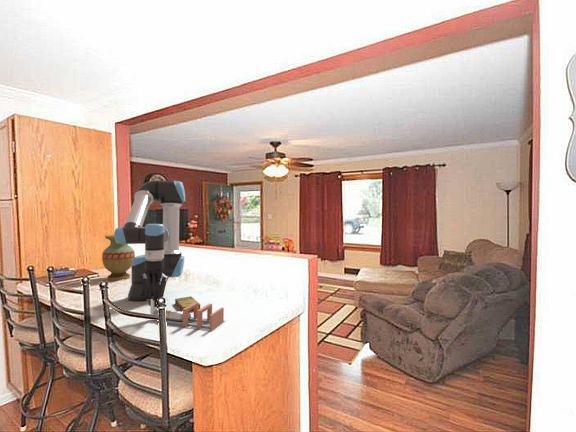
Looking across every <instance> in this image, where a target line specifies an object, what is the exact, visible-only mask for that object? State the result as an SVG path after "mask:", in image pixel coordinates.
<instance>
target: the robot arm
mask: <svg viewBox="0 0 576 432" xmlns="http://www.w3.org/2000/svg"><path fill="white" fill-rule="evenodd" d="M133 198H134V200H133V203H132V206H131V207H130V211H129V212H128V215H127V217H126V220H125V222H124V224H123V226H121V227H116V228H115V229H114V234H113V235H114V239H115V242H116V243H118V244H128V245H135V244H136V245H137V244H139V245H140V244H144V254H141V255H137V256H136V255H135V257H134V258H133V259H132V265H131V267H130V268H131V285H130V287H129V291H128V293H127V300H128V301H132V302H143V301H149V303H148V306H149V307H150V310H149V311H150V312H149V313H150V314H151V316H153V312H154V311H155V310H156V309H157V304H156V302H157V299H159V300H160V299H161V298H163V297H164V294H165V291H166V286H167V282H168V279H169V278H172V279H173V278H179V277H181V276H182V273H183V270H184V265H185V256H184V255H182V252H181V251H180V245H179V244H180V208H181V207H182V206H183V203H184V202H186V191H185V187H184V184H183V182H182V181H178V180H159V179H158V180H156V179H154V180H149V181H147V182H145V183H143V184H142V185H140V186H139V187H138V188H137V189H136V190H135V193H134V196H133ZM154 202H160V206H162V223H148V224H145V227H144V226H143V225H144V222H145V220H146V216H147V215H148V212H149V209H150V205H152V204H153V203H154Z"/></svg>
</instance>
